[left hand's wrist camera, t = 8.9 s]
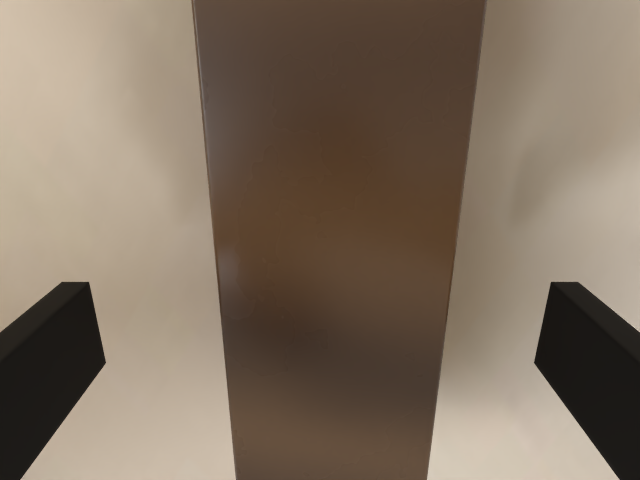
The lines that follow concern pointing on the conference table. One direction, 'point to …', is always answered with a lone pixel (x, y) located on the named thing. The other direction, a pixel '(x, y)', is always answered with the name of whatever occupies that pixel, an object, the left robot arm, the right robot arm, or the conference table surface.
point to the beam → (335, 222)
